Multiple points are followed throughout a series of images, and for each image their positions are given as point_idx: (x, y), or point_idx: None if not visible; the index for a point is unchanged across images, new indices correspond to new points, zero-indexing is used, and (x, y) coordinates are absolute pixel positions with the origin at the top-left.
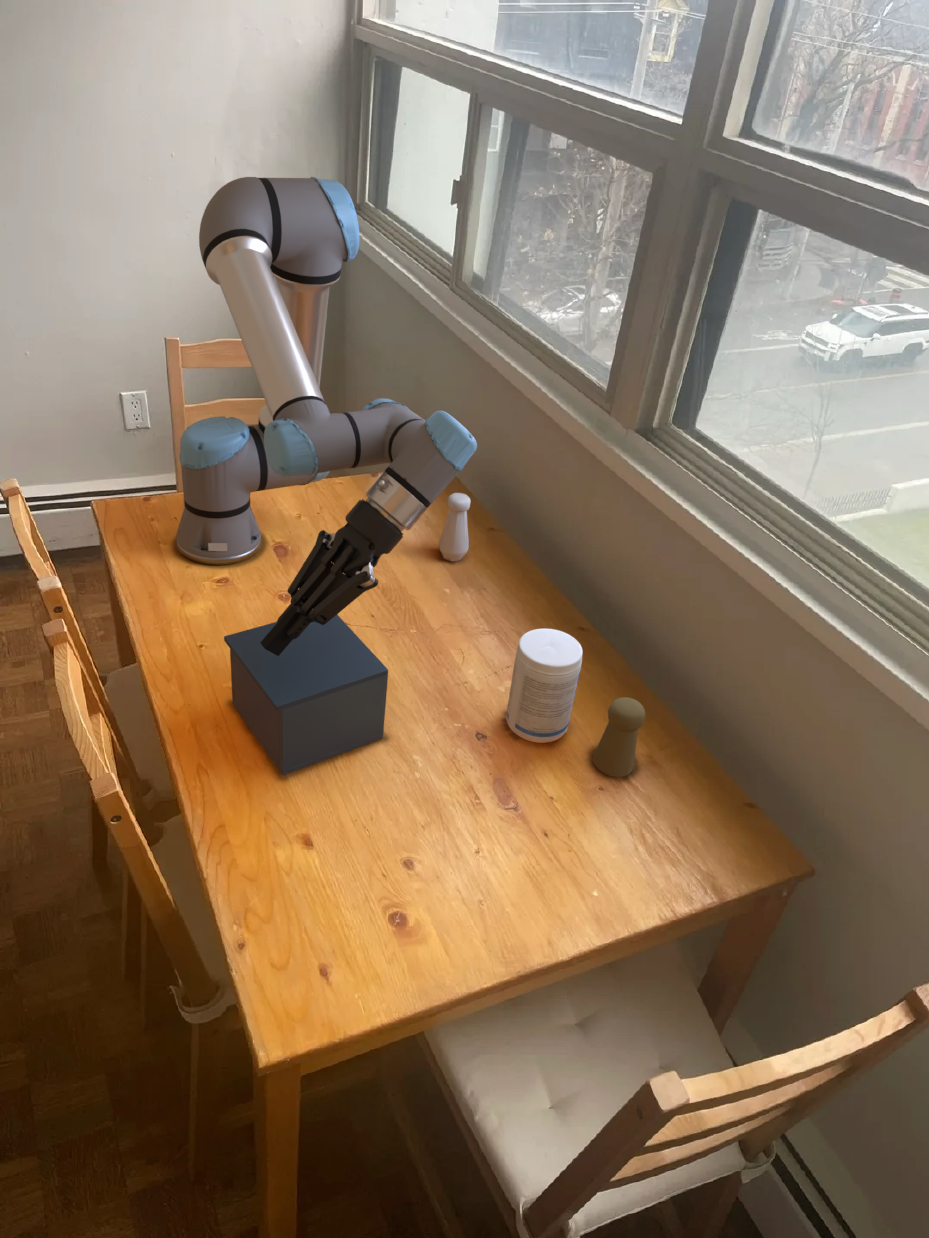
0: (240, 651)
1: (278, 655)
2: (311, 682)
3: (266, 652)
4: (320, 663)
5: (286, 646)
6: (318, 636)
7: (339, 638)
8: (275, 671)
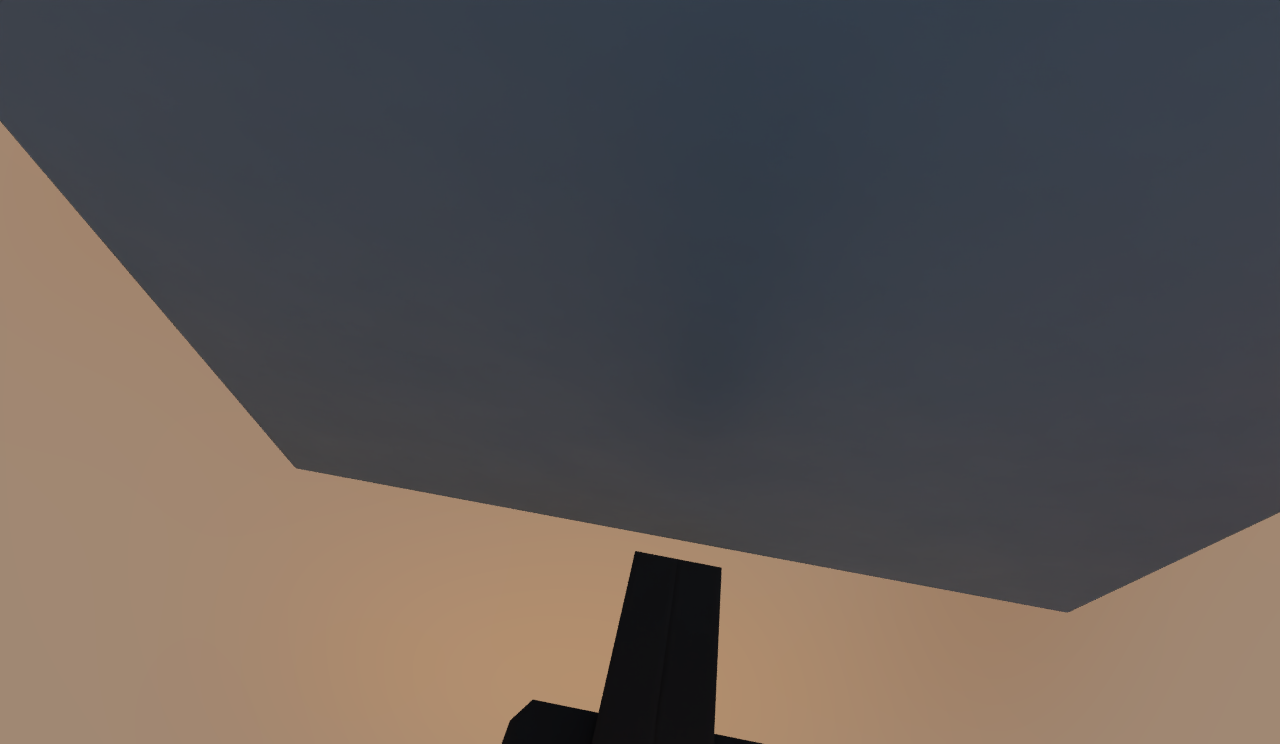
0: (478, 493)
1: (719, 575)
2: (1096, 500)
3: (555, 459)
4: (958, 379)
5: (716, 626)
6: (501, 174)
7: (689, 22)
8: (785, 515)
